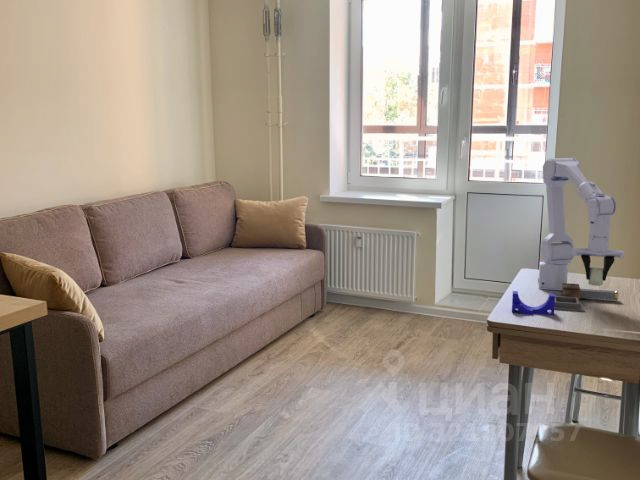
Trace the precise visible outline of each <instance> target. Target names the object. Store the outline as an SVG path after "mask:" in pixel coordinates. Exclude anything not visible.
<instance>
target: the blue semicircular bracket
mask: <svg viewBox="0 0 640 480" xmlns="http://www.w3.org/2000/svg"><path fill="white" fill-rule="evenodd" d="M555 296H556V295H555V293H548V296H547V297H548V298H547V299H546V301H545V302H544V303H542V304H540V305H538V306H529V305H527V304H525V303H524V302H523V301H522V300H521V298H520V296H519V291H517V290H512V298H511V300H512V301H511V313H512V314H516V310H517V314H520V315H529V316H533V315H542V316H543V315H544V316H555V310H554V305H555Z"/></svg>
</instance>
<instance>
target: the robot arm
mask: <svg viewBox="0 0 640 480" xmlns="http://www.w3.org/2000/svg"><path fill="white" fill-rule="evenodd" d="M542 175H543V183H544V184H545V190H546V205H547V221H548V235H546V236H545V237H544V238H543V239H542V240H541V247H540V248H541V249H540V256H541V258H542V260H543V261H539V268H538V277H537V283H538V284H537V285H538V289H539V290H549V291H562V283H568V276H569V273H568V272H569V264H571V261H572V260H573V259H574V258H575V257H576V256H580V257H581V261H582V263H583V266H584V270H585V277H586V278H585V279H586V280H587V281H589V278H590V267H591V257H599V258H601V257H603V268H604V272H603V282H605V281H606V279H607V276H608V273H609V271H610V269H611V267H612V265H613V264H614V262H615V258H619V259H624V257H625V256H624V255H625V252H624V250H617V249H609V242H610V241H609V240H610V233H611V221H612V220H611V219H612V216H613V214H615V212H616V210H617V204H616V200H615V199H614V197H613V196H612V195H607V194H604V193H603V191H602V190H601V189H600V188H599V187H598V186H597V183H595V182H594V181H590V180H589V181H588V179H586V177H585V175H584V174H583V173H582V171H581V169H580V162H579V161H578V160H577V158H575V157H565V158H564V157H563V158H562V157H561V158H559V157H558V158H554V157H553V158H552V157H548V158H547V159H545V161H544V163H543V164H542ZM569 182H571V183H572V184H573V185H574V186H575V187H576V188H577V189H578V190H577V194H578V196H579V197H580V198H581V199H582V201H583V202H584V203H585V204H586V211H587V215H588V221H589V228H588V229H589V231H588V243H587V245H588V246H587V247H586V248H584V247H583V248H575V246H574V243H573V238H572V237H571V236H569V235H568V234H567V233H566V222H565V221H566V220H565V204H564V195H563V194H564V193H563V192H564V191H563V187H564V186H565V184H567V183H569Z"/></svg>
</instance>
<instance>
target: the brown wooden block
mask: <svg viewBox="0 0 640 480" xmlns="http://www.w3.org/2000/svg"><path fill="white" fill-rule="evenodd" d="M580 289H581V287H580V284H579V283H568V282H567V283H562V290H561V296H562V297H576V298H578V300H579V301H581V300H580V299H581V298H580Z"/></svg>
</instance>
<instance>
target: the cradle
mask: <svg viewBox="0 0 640 480" xmlns="http://www.w3.org/2000/svg"><path fill="white" fill-rule="evenodd" d="M555 310H556V311H567V312H568V311H569V312H581V313H584V312H585V307H584V304H583V301H581V300H578V298H576V297H562V295H561V296H558V295H555V305H554V311H555Z"/></svg>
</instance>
